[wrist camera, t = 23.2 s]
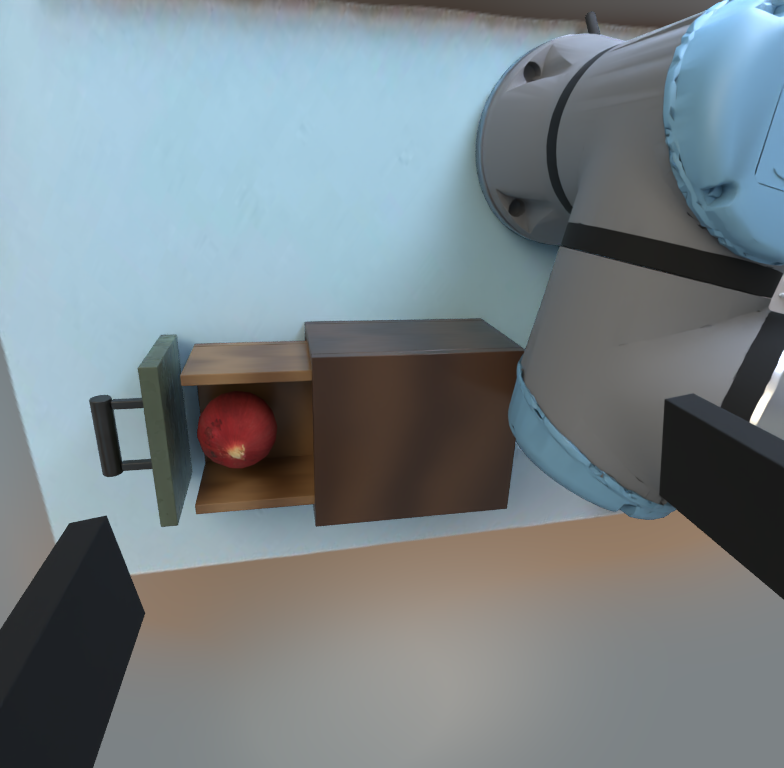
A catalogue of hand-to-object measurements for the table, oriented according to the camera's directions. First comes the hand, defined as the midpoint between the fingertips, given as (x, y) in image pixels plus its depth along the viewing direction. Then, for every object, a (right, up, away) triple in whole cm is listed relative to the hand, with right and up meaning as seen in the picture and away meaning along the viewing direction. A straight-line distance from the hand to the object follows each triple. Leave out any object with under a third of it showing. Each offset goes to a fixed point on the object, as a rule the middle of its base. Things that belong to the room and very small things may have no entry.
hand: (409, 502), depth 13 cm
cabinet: (0, +2, +36) cm, 36 cm away
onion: (-13, +1, +32) cm, 35 cm away
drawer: (-14, +1, +33) cm, 36 cm away
